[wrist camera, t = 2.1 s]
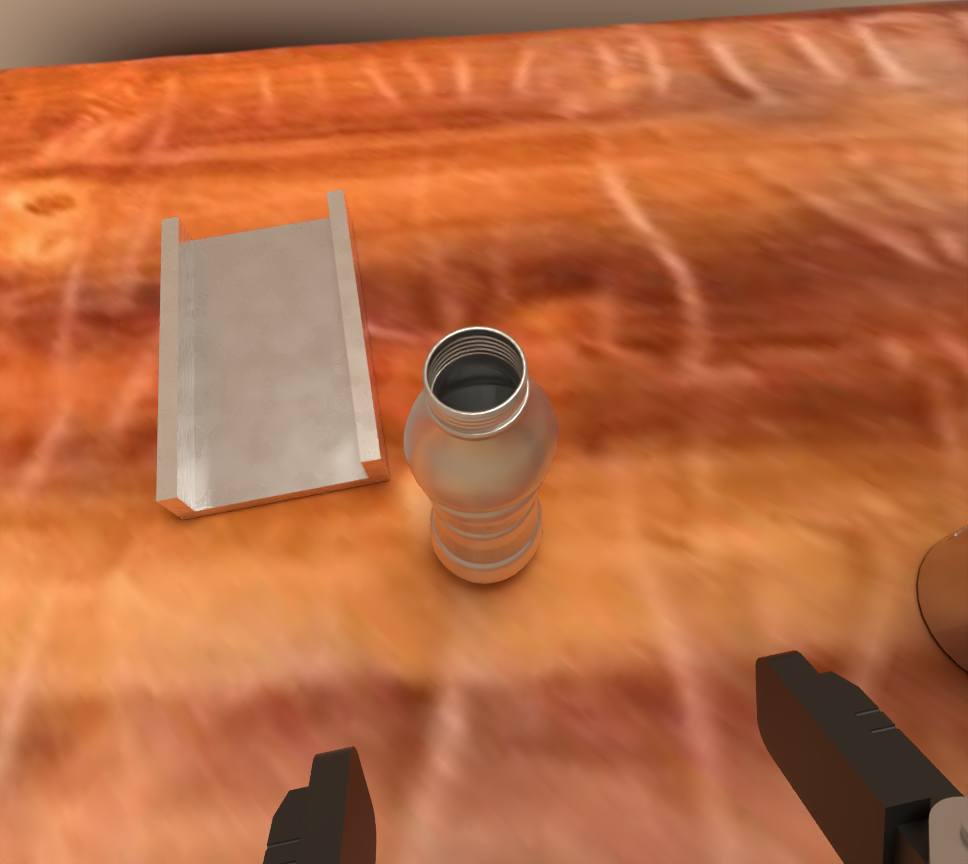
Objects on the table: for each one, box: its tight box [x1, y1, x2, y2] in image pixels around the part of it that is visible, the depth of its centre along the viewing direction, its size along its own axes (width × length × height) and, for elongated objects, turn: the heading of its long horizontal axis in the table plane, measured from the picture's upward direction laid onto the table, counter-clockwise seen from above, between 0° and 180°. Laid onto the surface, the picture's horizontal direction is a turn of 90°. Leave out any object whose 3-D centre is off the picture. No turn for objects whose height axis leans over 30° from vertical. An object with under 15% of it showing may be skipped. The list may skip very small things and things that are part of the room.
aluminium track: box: [156, 190, 390, 520], centre depth 45 cm, size 22×13×4 cm, turn 11°
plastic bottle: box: [404, 326, 559, 584], centre depth 32 cm, size 6×7×20 cm
